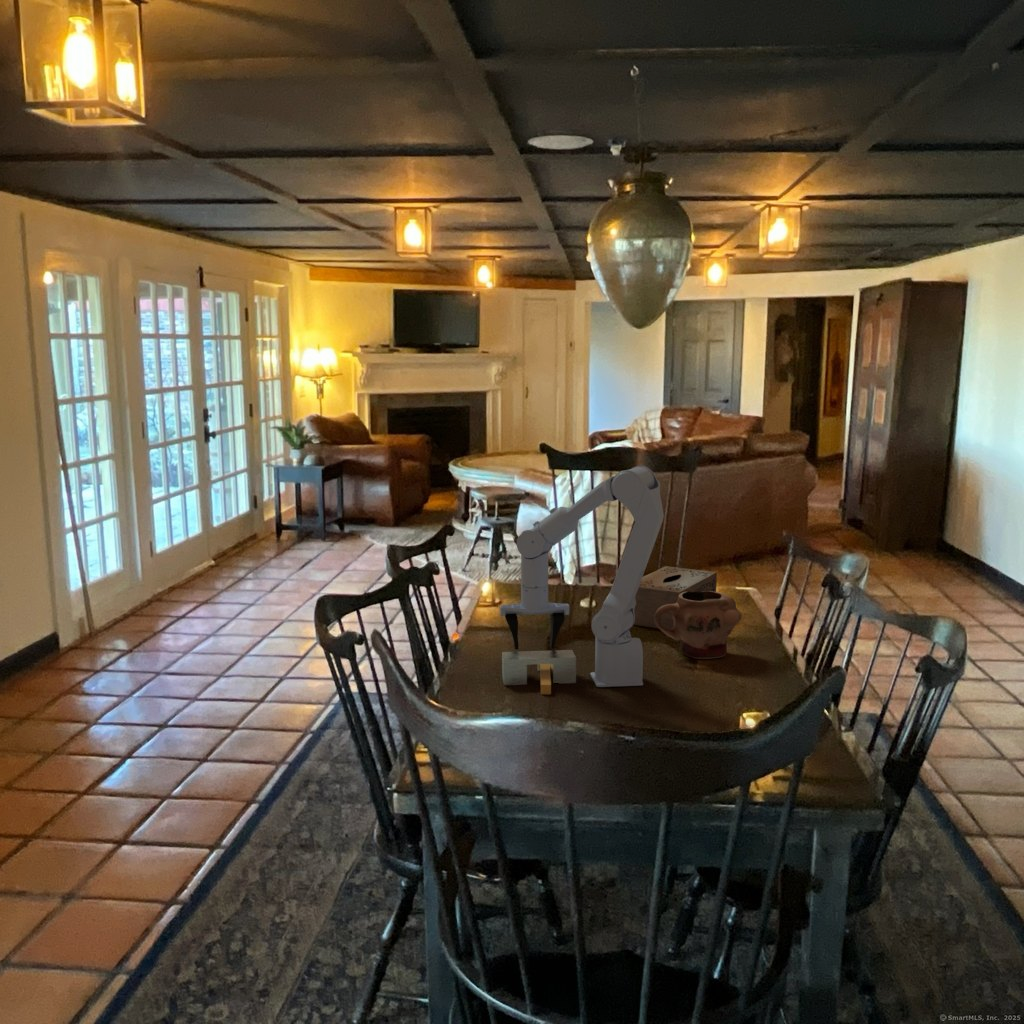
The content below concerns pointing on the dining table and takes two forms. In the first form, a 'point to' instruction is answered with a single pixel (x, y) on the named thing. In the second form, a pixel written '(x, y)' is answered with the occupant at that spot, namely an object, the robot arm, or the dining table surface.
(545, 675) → the wooden stick
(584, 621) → the dining table surface
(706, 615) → the ceramic mug
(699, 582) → the tissue box cover
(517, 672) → the block
